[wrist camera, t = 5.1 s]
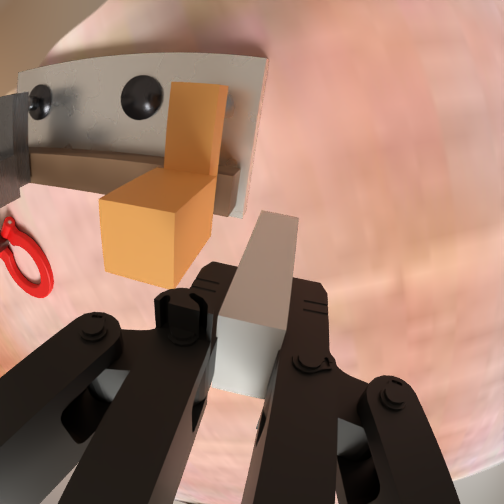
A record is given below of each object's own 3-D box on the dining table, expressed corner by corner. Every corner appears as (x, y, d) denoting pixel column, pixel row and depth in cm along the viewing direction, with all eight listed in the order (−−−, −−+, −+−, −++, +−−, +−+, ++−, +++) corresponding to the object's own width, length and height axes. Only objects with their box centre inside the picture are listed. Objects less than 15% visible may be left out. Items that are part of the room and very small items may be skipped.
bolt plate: (27, 71, 17) (1, 74, 15) (269, 60, 16) (261, 52, 13) (27, 176, 22) (4, 187, 19) (245, 212, 20) (234, 231, 18)
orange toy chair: (188, 83, 15) (101, 79, 8) (243, 88, 15) (186, 78, 8) (178, 204, 19) (105, 271, 12) (226, 213, 19) (173, 290, 12)
